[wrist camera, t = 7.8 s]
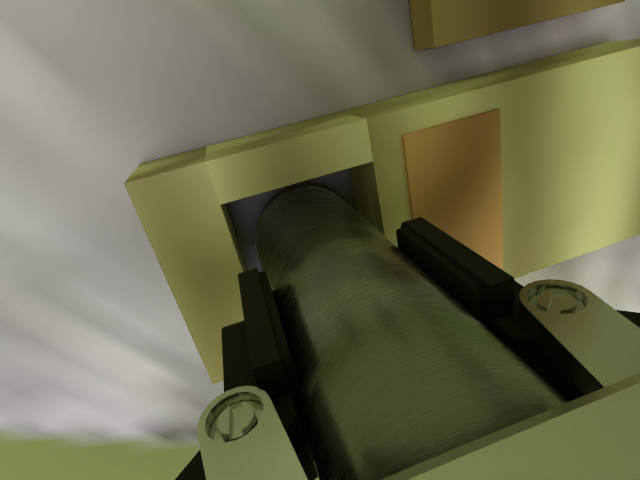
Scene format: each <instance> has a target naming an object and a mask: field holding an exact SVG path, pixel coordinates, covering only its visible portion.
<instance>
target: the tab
mask: <svg viewBox="0 0 640 480" xmlns="http://www.w3.org/2000/svg"><path fill="white" fill-rule="evenodd" d="M624 1H625V0H410V10H411V20H412V31H413V41H414V51H415V50H422V49H429V48H435V47H439V46H443V45H448V44H452V43H456V42H460V41H464V40H468V39H472V38H476V37H480V36H484V35H488V34H493V33H497V32H501V31H505V30H509V29H513V28H517V27H521V26H525V25H529V24H534V23H538V22H542V21H546V20H550V19H554V18H558V17H562V16H566V15H570V14H574V13H579V12H583V11H587V10H591V9H595V8H599V7H603V6H607V5H611V4H615V3H619V2H624Z"/></svg>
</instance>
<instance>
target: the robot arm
mask: <svg viewBox="0 0 640 480" xmlns="http://www.w3.org/2000/svg"><path fill="white" fill-rule="evenodd" d="M396 237H397V244H398V249H400V250H401V251H402V252H403V253H404V254H405V255H406V256H407V257H408V258H410V259H411V260H412V261H413V262H414V263H415V264H416V265H417V266H418V267H420V268H421V269H422V270H423V271H424V272H425V273H426V274H427V275H428V276H430V277H431V278H432V279H433V280H434V281H435V282H436V283H437V284H438V285H440V286H441V287H442V288H443V289H444V290H445V291H446V292H447V293H448V294H450V295H451V296H452V297H453V298H454V299H455V300H456V301H457V302H459V303H460V304H461V305H462V306H463V307H464V308H465V309H466V310H467V311H469V312H470V313H471V314H472V315H473V316H474V317H475V318H476V319H477V320H479V321H480V322H481V323H482V324H483V325H484V326H485V327H486V328H487V329H489V330H490V331H491V332H492V333H493V334H494V335H495V336H496V337H497V338H499V339H500V340H501V341H502V342H503V343H504V344H505V345H506V346H507V347H509V348H510V349H511V350H512V351H513V352H514V353H515V354H516V355H518V356H519V357H520V358H521V359H522V360H523V361H524V362H525V363H526V364H528V365H529V366H530V367H531V368H532V369H533V370H534V371H535V372H536V373H538V374H539V375H540V376H541V377H542V378H543V379H544V380H545V381H546V382H548V383H549V384H550V385H551V386H552V387H553V388H554V389H555V390H556V391H558V392H559V393H560V394H561V395H562V396H563V397H564V398H565V399H566V400H568V401H569V402H567V403H565V404H562V405H560V406H557V407H555V408H553V409H550V410H548V411H545V412H543V413H540V414H538V415H536V416H533V417H531V418H528V419H526V420H523V421H521V422H519V423H516V424H514V425H511V426H509V427H506V428H504V429H502V430H499V431H497V432H494V433H492V434H489V435H487V436H485V437H482V438H480V439H477V440H475V441H473V442H470V443H468V444H465V445H463V446H460V447H458V448H456V449H453V450H451V451H448V452H446V453H443V454H441V455H439V456H436V457H434V458H431V459H429V460H427V461H424V462H422V463H420V464H417V465H415V466H412V467H410V468H408V469H405V470H403V471H400V472H398V473H396V474H393V475H391V476H389V477H386V478H384V479H381V480H640V313H636V312H628V311H619V310H615V309H614V308H612V307H611V306H609V305H608V304H607V303H605V302H604V301H603V300H601V299H600V298H599V297H597V296H596V295H595V294H593V293H592V292H591V291H589V290H588V289H586V288H584V287H583V286H581V285H578V284H575V283H572V282H568V281H563V280H548V279H547V280H540V281H535V282H532V283H529V284H527V285H526V286H524V287H523V286H522V285H520V284H519V283H517V282H516V281H514V277H512V276H511V275H509V274H508V273H506V272H505V271H503V270H502V269H500V268H499V267H497V266H496V265H494V264H493V263H491V262H489V261H488V260H486V259H485V258H483V257H482V256H480V255H479V254H477V253H476V252H474V251H473V250H471V249H470V248H468V247H466V246H465V245H463V244H462V243H460V242H459V241H457V240H456V239H454V238H453V237H451V236H450V235H448V234H447V233H445V232H444V231H442V230H440V229H439V228H437V227H436V226H434V225H433V224H431V223H430V222H428V221H427V220H425V219H424V218H422V217H418V218H415V219H412V220H408V221H405V222H402V223H401V228H399V229H397V230H396ZM238 281H239V288H240V295H241V302H242V309H243V316H244V320H243V321H240V322H237V323H234V324H231V325H228V326H225V327H222V331H221V333H222V355H223V377H224V393H223V394H221V395H219V396H218V397H216V398H215V399H214V400H213V401H212V402H211V403H210V404H209V405H208V406H207V407H206V408H205V410H204V411H203V413H202V414H201V416H200V419H199V422H198V424H197V436H198V441H199V446H200V450H199V452H198V453H197V454H196V455H195V456H194V458H193V459H192V460H191V461H190V462H189V464H188V465H187V466H186V467H185V468H184V470H183V471H182V472H181V473H180V474H179V476H178V477H177V478H176V479H175V480H315V478H317V477H318V474H317V470H316V467H315V463H314V457H313V454H312V450H311V447H310V443H309V439H308V436H307V432H306V428H305V425H304V421H303V417H302V413H301V406H300V395H301V388H300V384H299V381H298V377H297V374H296V371H295V367H294V364H293V360H292V357H291V354H290V350H289V347H288V343H287V340H286V337H285V333H284V330H283V326H282V323H281V320H280V316H279V313H278V309H277V306H276V303H275V299H274V296H273V292H272V289H271V286H270V283H269V280H268V276H267V273H266V270H265V271H262V272H259V273H258V270H257V268H255V269H251V270H248V271H245V272H242V273H239V274H238Z"/></svg>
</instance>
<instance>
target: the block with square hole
mask: <svg viewBox="0 0 640 480" xmlns="http://www.w3.org/2000/svg"><path fill="white" fill-rule="evenodd" d="M348 168H349V170H350V175H351V181H352V186H353V192H354V197H355V202H356V208H357V212H358V213H359V214H361V215H362V216H363V217H364V218H365V219H366V220H367V221H368V222H369V223H371V224H372V225H373V226H374V227H375V228H376V229H377V230H378V231H379V232H381V233H382V234H383V235H384V236H385V237H386V238H387V239H388V240H389V241H391V242H392V243H393V244H394V245H395V246H396V247H397V248H398V244H397V237H396V230H397V229H399V228H401V223H402V222H405V221H408V220H412V219H415V218H418V217H422V218H424V219H425V220H427V221H428V222H430V223H431V224H433V225H434V226H436V227H437V228H439V229H440V230H442V231H444V232H445V233H447V234H448V235H450V236H451V237H453V238H454V239H456V240H457V241H459V242H460V243H462V244H463V245H465V246H466V247H468V248H470V249H471V250H473V251H474V252H476V253H477V254H479V255H480V256H482V257H483V258H485V259H486V260H488V261H489V262H491V263H493V264H494V265H496V266H497V267H499V268H500V269H502V270H503V271H505V272H506V273H508V274H509V275H511V276H512V277H514V278H517V277H520V276H523V275H525V274H528V273H531V272H534V271H537V270H540V269H542V268H545V267H548V266H551V265H554V264H557V263H560V262H562V261H565V260H568V259H571V258H574V257H577V256H580V255H582V254H585V253H588V252H591V251H594V250H597V249H600V248H602V247H605V246H608V245H611V244H614V243H617V242H619V241H622V240H625V239H628V238H631V237H634V236H637V235H639V234H640V39H635V40H624V41H614V42H606V43H602V44H598V45H594V46H590V47H586V48H583V49H579V50H575V51H571V52H567V53H563V54H560V55H556V56H552V57H548V58H544V59H540V60H537V61H533V62H529V63H525V64H521V65H517V66H514V67H510V68H506V69H502V70H498V71H494V72H491V73H487V74H483V75H479V76H475V77H471V78H467V79H464V80H460V81H456V82H452V83H448V84H444V85H441V86H437V87H433V88H429V89H425V90H421V91H418V92H414V93H410V94H406V95H402V96H398V97H395V98H391V99H387V100H383V101H379V102H375V103H371V104H368V105H364V106H360V107H356V108H352V109H348V110H345V111H341V112H337V113H333V114H329V115H325V116H322V117H318V118H314V119H310V120H306V121H302V122H299V123H295V124H291V125H287V126H283V127H279V128H275V129H272V130H268V131H264V132H260V133H256V134H252V135H249V136H245V137H241V138H237V139H233V140H229V141H226V142H222V143H218V144H214V145H210V146H206V147H203V148H199V149H195V150H191V151H187V152H183V153H179V154H176V155H172V156H168V157H164V158H160V159H156V160H153V161H149V162H145V163H141V164H140V165H139V166H138V167H137V168H136V170H135V171H134V172H133V173H132V174H131V176H130V177H129V178H128V179H127V180H126V182H125V183H124V184H125V187H126V189H127V191H128V193H129V196H130V198H131V200H132V203H133V205H134V207H135V209H136V212H137V214H138V216H139V218H140V221H141V223H142V225H143V227H144V230H145V232H146V234H147V236H148V239H149V241H150V243H151V245H152V248H153V250H154V252H155V255H156V257H157V259H158V261H159V264H160V266H161V268H162V270H163V273H164V275H165V277H166V279H167V282H168V284H169V286H170V288H171V291H172V293H173V295H174V297H175V300H176V302H177V304H178V307H179V309H180V311H181V313H182V316H183V318H184V320H185V322H186V325H187V327H188V329H189V331H190V334H191V336H192V338H193V340H194V343H195V345H196V347H197V349H198V352H199V354H200V356H201V359H202V361H203V363H204V365H205V368H206V370H207V372H208V374H209V377H210V379H211V381H212V383H213V384H214V383H217V382H220V381H223V380H224V377H223V355H222V333H221V331H222V327H225V326H228V325H231V324H234V323H237V322H240V321H243V320H244V316H243V309H242V302H241V295H240V288H239V281H238V274H239V273H242V272H245V271H248V269H247V266H246V263H245V260H244V257H243V254H242V251H241V248H240V245H239V242H238V239H237V236H236V233H235V230H234V227H233V224H232V221H231V218H230V216H229V213H228V210H227V207H226V204H225V203H228V202H232V201H235V200H239V199H242V198H246V197H249V196H253V195H256V194H260V193H263V192H267V191H270V190H274V189H277V188H281V187H284V186H288V185H292V184H295V183H299V182H302V181H306V180H309V179H313V178H316V177H320V176H323V175H327V174H330V173H334V172H337V171H341V170H344V169H348Z"/></svg>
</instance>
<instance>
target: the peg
mask: <svg viewBox="0 0 640 480" xmlns="http://www.w3.org/2000/svg"><path fill="white" fill-rule="evenodd" d="M255 242H256V249H257V253H258V257H259V260H260V264H261V267H262V271H265V270H266V273H267V276H268V280H269V283H270V286H271V289H272V292H273V296H274V299H275V303H276V306H277V309H278V313H279V316H280V320H281V323H282V326H283V330H284V333H285V337H286V340H287V343H288V347H289V350H290V354H291V357H292V360H293V364H294V367H295V371H296V374H297V377H298V381H299V384H300V388H301V395H300V406H301V413H302V417H303V421H304V425H305V428H306V432H307V436H308V439H309V443H310V447H311V450H312V454H313V457H314V461H315V465H316V468H317V472H318V476H319V479H320V480H381V479H384V478H386V477H389V476H391V475H393V474H396V473H398V472H400V471H403V470H405V469H408V468H410V467H412V466H415V465H417V464H420V463H422V462H424V461H427V460H429V459H431V458H434V457H436V456H439V455H441V454H443V453H446V452H448V451H451V450H453V449H456V448H458V447H460V446H463V445H465V444H468V443H470V442H473V441H475V440H477V439H480V438H482V437H485V436H487V435H489V434H492V433H494V432H497V431H499V430H502V429H504V428H506V427H509V426H511V425H514V424H516V423H519V422H521V421H523V420H526V419H528V418H531V417H533V416H536V415H538V414H540V413H543V412H545V411H548V410H550V409H553V408H555V407H557V406H560V405H562V404H565V403H567V402H569V401H568V400H566V399H565V398H564V397H563V396H562V395H561V394H560V393H559V392H558V391H556V390H555V389H554V388H553V387H552V386H551V385H550V384H549V383H548V382H546V381H545V380H544V379H543V378H542V377H541V376H540V375H539V374H538V373H536V372H535V371H534V370H533V369H532V368H531V367H530V366H529V365H528V364H526V363H525V362H524V361H523V360H522V359H521V358H520V357H519V356H518V355H516V354H515V353H514V352H513V351H512V350H511V349H510V348H509V347H507V346H506V345H505V344H504V343H503V342H502V341H501V340H500V339H499V338H497V337H496V336H495V335H494V334H493V333H492V332H491V331H490V330H489V329H487V328H486V327H485V326H484V325H483V324H482V323H481V322H480V321H479V320H477V319H476V318H475V317H474V316H473V315H472V314H471V313H470V312H469V311H467V310H466V309H465V308H464V307H463V306H462V305H461V304H460V303H459V302H457V301H456V300H455V299H454V298H453V297H452V296H451V295H450V294H448V293H447V292H446V291H445V290H444V289H443V288H442V287H441V286H440V285H438V284H437V283H436V282H435V281H434V280H433V279H432V278H431V277H430V276H428V275H427V274H426V273H425V272H424V271H423V270H422V269H421V268H420V267H418V266H417V265H416V264H415V263H414V262H413V261H412V260H411V259H410V258H408V257H407V256H406V255H405V254H404V253H403V252H402V251H401V250H400V249H398V248H397V247H396V246H395V245H394V244H393V243H392V242H391V241H389V240H388V239H387V238H386V237H385V236H384V235H383V234H382V233H381V232H379V231H378V230H377V229H376V228H375V227H374V226H373V225H372V224H371V223H369V222H368V221H367V220H366V219H365V218H364V217H363V216H362V215H361V214H359V213H358V212H357V211H356V210H355V209H354V208H353V207H352V206H351V205H349V204H348V203H347V202H346V201H345V200H344V199H343V198H342V197H341V196H339V195H338V194H336V193H335V192H333V191H331V190H328V189H325V188H322V187H317V186H304V187H298V188H294V189H292V190H289V191H287V192H285V193H283V194H281V195H280V196H278V197H277V198H275V199H274V200H273V201H272V202H271V203H270V204H269V205H268V206H267V207H266V209H265V210H264V212H263V213H262V215H261V217H260V219H259V222H258V225H257V228H256V235H255Z"/></svg>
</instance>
